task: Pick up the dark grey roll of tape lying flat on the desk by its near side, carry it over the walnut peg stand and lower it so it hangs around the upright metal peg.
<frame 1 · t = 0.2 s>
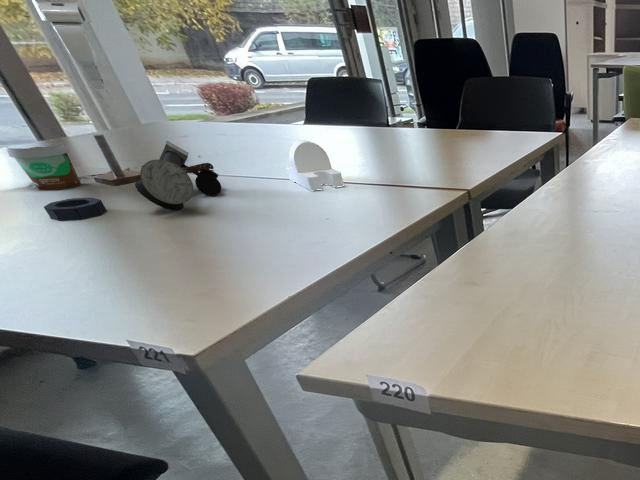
hand: (100, 86, 123), 24 cm above the table, tool pointing down, fingers open, 8 cm apart
peg stand: (122, 180, 147), on the table
food container: (60, 188, 140), on the table
tape: (79, 214, 122), on the table
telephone: (188, 201, 133), on the table
white round-backed notched block: (317, 184, 150), on the table
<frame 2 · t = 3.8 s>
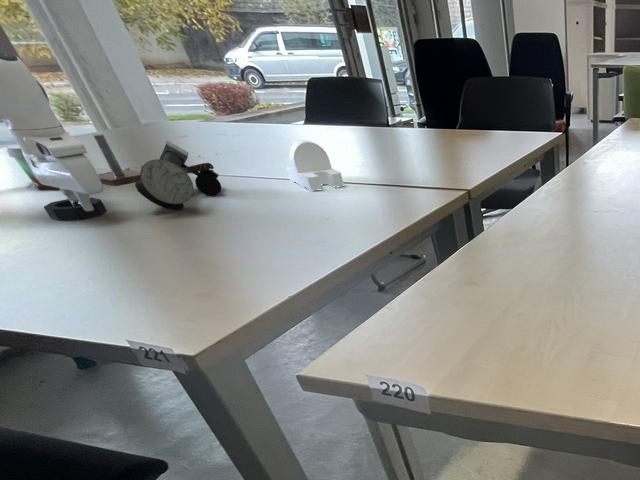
hand: (85, 209, 120), 2 cm above the table, tool pointing down, fingers closed on tape, 2 cm apart
tape: (79, 214, 122), on the table, touching gripper
everything else where it was.
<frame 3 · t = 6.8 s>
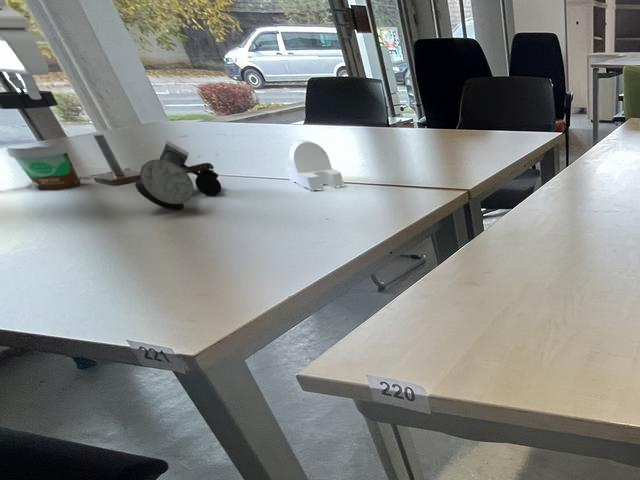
hand: (31, 98, 110), 23 cm above the table, tool pointing down, fingers closed on tape
tape: (27, 106, 113), point 21 cm above the table, touching gripper
everything else where it was.
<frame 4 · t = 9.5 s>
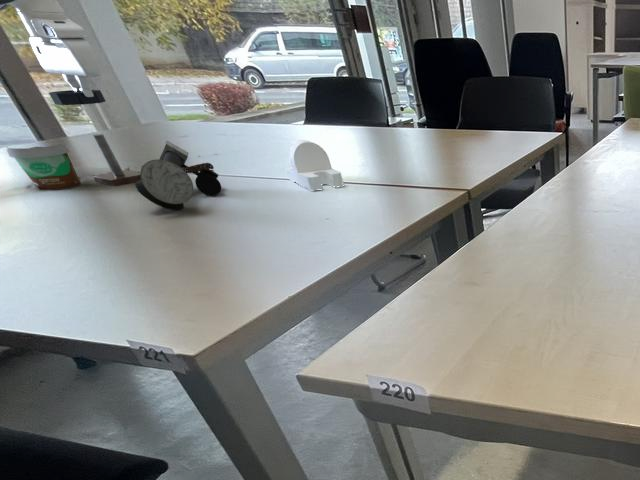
hand: (85, 96, 132), 21 cm above the table, tool pointing down, fingers closed on tape
tape: (81, 102, 135), point 19 cm above the table, touching gripper
everything else where it was.
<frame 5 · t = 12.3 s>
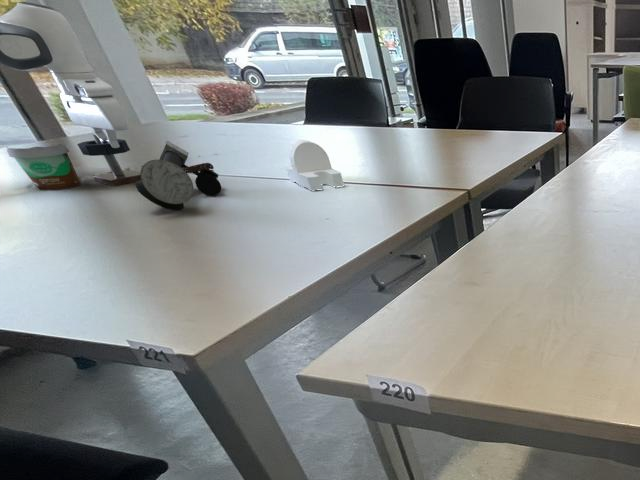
hand: (111, 146, 140), 9 cm above the table, tool pointing down, fingers closed on tape
tape: (107, 152, 142), point 7 cm above the table, touching gripper
everything else where it was.
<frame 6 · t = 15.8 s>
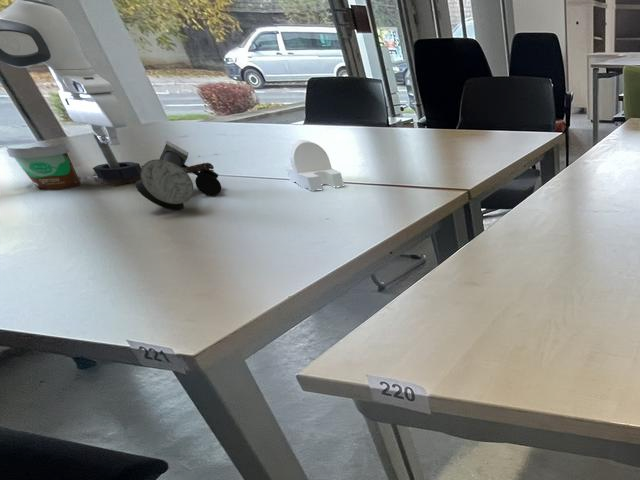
hand: (110, 144, 140), 10 cm above the table, tool pointing down, fingers open, 3 cm apart
tape: (121, 175, 146), point 1 cm above the table, touching peg stand
everything else where it was.
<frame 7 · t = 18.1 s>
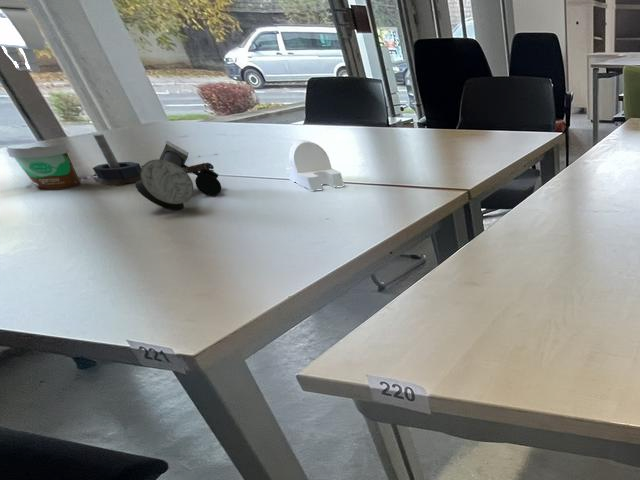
hand: (29, 71, 125), 26 cm above the table, tool pointing down, fingers open, 4 cm apart
nothing on the table moved.
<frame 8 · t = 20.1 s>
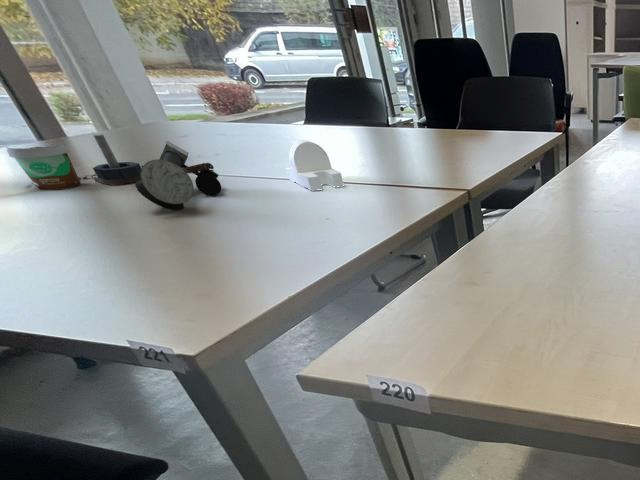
nothing on the table moved.
at the end: tape 1.0 cm from the peg stand (horizontally); tape point 1.5 cm above the table; the gripper is holding nothing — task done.
